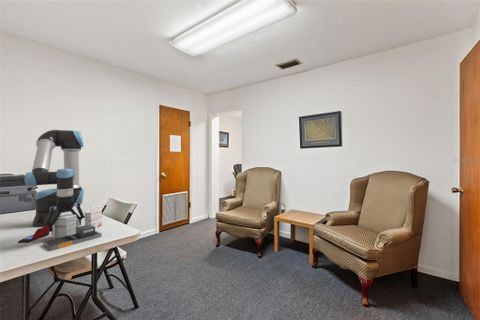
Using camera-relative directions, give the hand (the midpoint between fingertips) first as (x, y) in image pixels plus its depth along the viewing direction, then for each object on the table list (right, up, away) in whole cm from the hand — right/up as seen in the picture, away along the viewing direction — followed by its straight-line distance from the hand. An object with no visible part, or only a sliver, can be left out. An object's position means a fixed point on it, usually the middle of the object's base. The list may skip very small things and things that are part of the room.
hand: (65, 233), depth 129 cm
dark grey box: (+12, -2, -1) cm, 13 cm away
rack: (+9, -2, -6) cm, 11 cm away
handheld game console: (-15, -3, -1) cm, 15 cm away
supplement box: (0, -2, 0) cm, 2 cm away
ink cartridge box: (+6, -2, +16) cm, 17 cm away
